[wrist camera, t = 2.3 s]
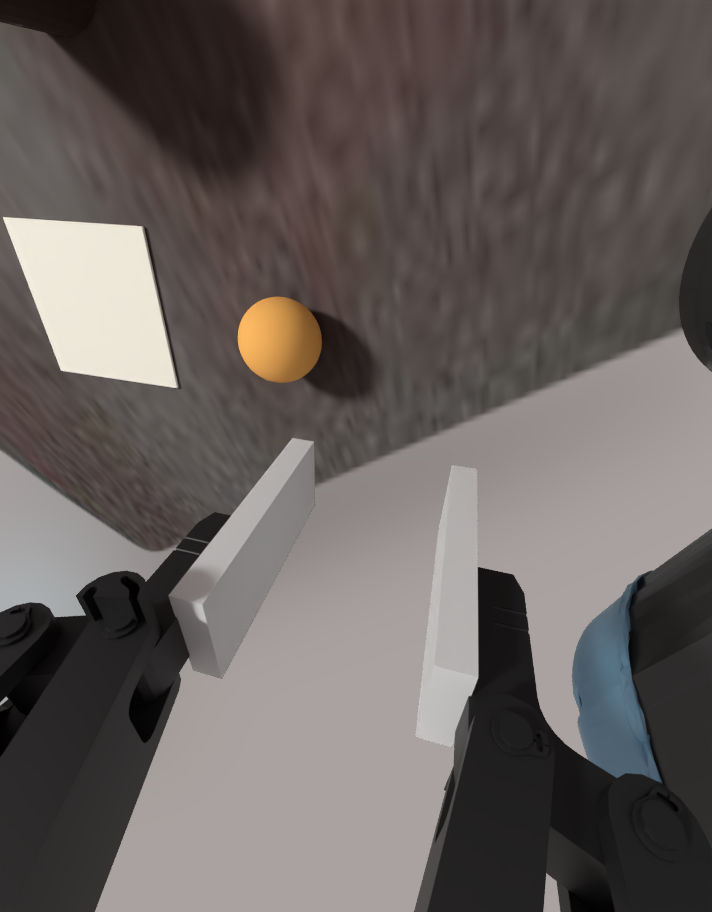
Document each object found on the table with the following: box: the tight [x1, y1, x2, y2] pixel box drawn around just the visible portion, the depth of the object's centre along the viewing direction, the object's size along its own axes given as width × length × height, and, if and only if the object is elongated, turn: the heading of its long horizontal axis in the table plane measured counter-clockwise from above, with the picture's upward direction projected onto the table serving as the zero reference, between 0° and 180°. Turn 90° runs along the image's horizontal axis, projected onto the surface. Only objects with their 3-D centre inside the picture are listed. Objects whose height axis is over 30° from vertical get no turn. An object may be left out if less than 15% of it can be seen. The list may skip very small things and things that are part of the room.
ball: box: [238, 297, 322, 383], centre depth 27 cm, size 6×6×6 cm
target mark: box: [3, 217, 179, 388], centre depth 32 cm, size 12×12×1 cm
